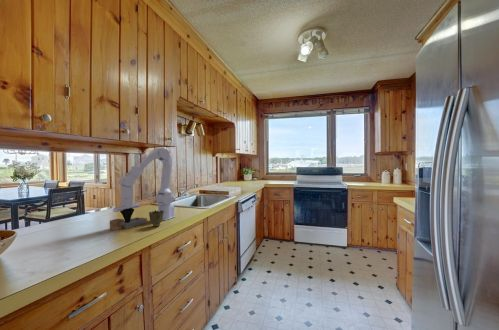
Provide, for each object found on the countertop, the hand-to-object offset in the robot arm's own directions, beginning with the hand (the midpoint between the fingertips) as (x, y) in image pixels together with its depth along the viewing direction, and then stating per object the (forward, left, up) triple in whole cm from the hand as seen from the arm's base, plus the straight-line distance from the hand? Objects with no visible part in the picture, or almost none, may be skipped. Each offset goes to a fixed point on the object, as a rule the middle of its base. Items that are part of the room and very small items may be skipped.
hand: (127, 222), depth 120 cm
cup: (-6, +15, -2) cm, 16 cm away
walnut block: (+6, 0, -2) cm, 6 cm away
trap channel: (-2, 0, -2) cm, 3 cm away
